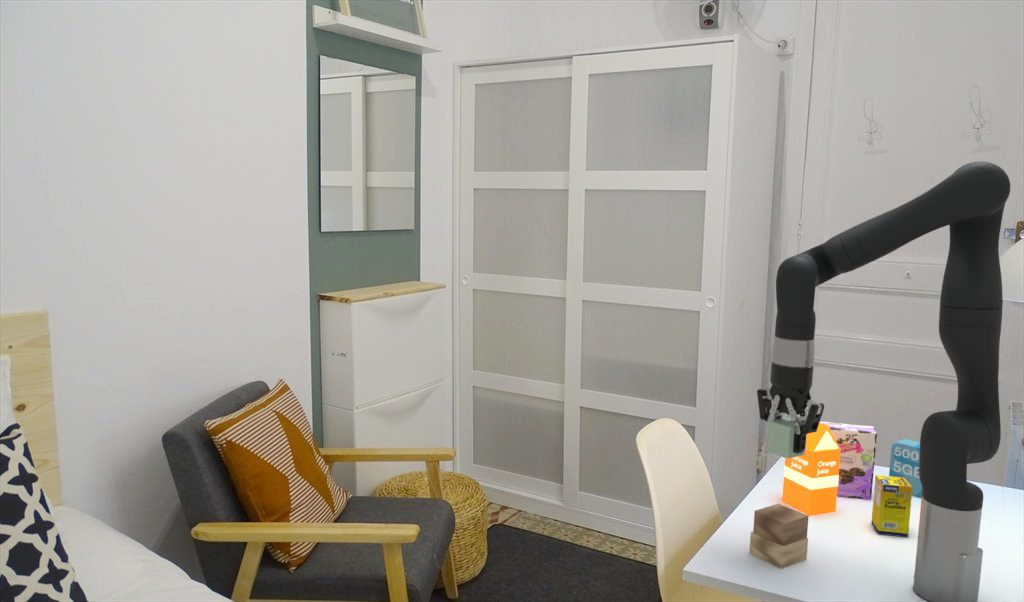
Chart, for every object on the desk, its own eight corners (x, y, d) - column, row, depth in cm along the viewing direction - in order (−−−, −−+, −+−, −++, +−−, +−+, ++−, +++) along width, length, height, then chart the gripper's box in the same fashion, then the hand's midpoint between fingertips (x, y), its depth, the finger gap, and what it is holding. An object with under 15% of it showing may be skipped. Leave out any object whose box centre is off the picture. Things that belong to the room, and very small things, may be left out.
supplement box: (908, 537, 163) (913, 486, 161) (877, 534, 164) (882, 484, 162) (900, 526, 168) (905, 477, 167) (870, 523, 170) (875, 474, 168)
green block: (805, 454, 150) (807, 424, 149) (787, 458, 147) (790, 427, 146) (783, 447, 154) (785, 417, 153) (766, 451, 151) (768, 420, 150)
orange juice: (808, 497, 183) (814, 414, 181) (836, 511, 175) (843, 424, 173) (781, 501, 181) (787, 416, 178) (808, 516, 172) (815, 427, 170)
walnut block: (806, 538, 151) (808, 515, 150) (783, 546, 147) (784, 523, 146) (776, 525, 157) (778, 503, 156) (753, 532, 153) (754, 510, 152)
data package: (887, 488, 191) (891, 440, 189) (895, 484, 194) (900, 437, 192) (939, 504, 182) (944, 453, 180) (947, 499, 184) (952, 450, 183)
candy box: (808, 493, 186) (813, 425, 184) (806, 484, 192) (811, 419, 190) (871, 500, 182) (877, 432, 180) (868, 492, 188) (874, 425, 186)
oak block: (806, 560, 152) (808, 538, 151) (781, 569, 147) (782, 546, 147) (774, 545, 158) (775, 524, 157) (749, 554, 154) (750, 532, 153)
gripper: (749, 355, 152) (743, 440, 154) (811, 370, 140) (804, 462, 142) (775, 352, 156) (768, 435, 158) (838, 366, 144) (830, 456, 146)
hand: (785, 447), depth 150 cm, fingers closed on green block, 5 cm apart
